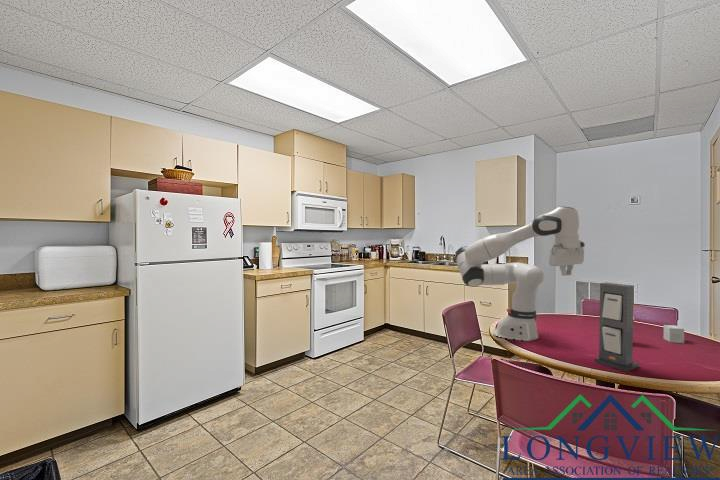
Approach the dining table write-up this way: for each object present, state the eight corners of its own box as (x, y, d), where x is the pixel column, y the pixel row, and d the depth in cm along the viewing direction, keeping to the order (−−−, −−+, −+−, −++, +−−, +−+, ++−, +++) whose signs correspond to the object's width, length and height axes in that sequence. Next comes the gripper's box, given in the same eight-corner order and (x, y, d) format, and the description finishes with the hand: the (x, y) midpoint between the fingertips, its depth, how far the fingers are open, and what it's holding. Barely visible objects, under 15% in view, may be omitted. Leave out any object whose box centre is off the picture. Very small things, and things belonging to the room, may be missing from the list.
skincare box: (684, 343, 167) (684, 328, 167) (669, 342, 169) (669, 327, 169) (677, 339, 173) (677, 325, 173) (662, 338, 175) (663, 324, 175)
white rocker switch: (618, 320, 137) (621, 295, 138) (601, 316, 142) (604, 293, 143) (620, 320, 138) (623, 296, 139) (604, 317, 143) (607, 293, 144)
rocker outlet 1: (620, 354, 138) (618, 331, 137) (604, 349, 144) (601, 327, 142) (622, 352, 139) (620, 329, 138) (606, 348, 145) (604, 326, 143)
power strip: (627, 372, 135) (628, 287, 134) (594, 361, 146) (595, 283, 145) (639, 366, 140) (640, 285, 139) (606, 357, 151) (607, 281, 150)
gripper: (559, 244, 140) (559, 278, 141) (587, 243, 150) (586, 274, 150) (545, 244, 146) (544, 276, 146) (572, 242, 155) (572, 272, 156)
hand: (566, 275), depth 148 cm, fingers closed
